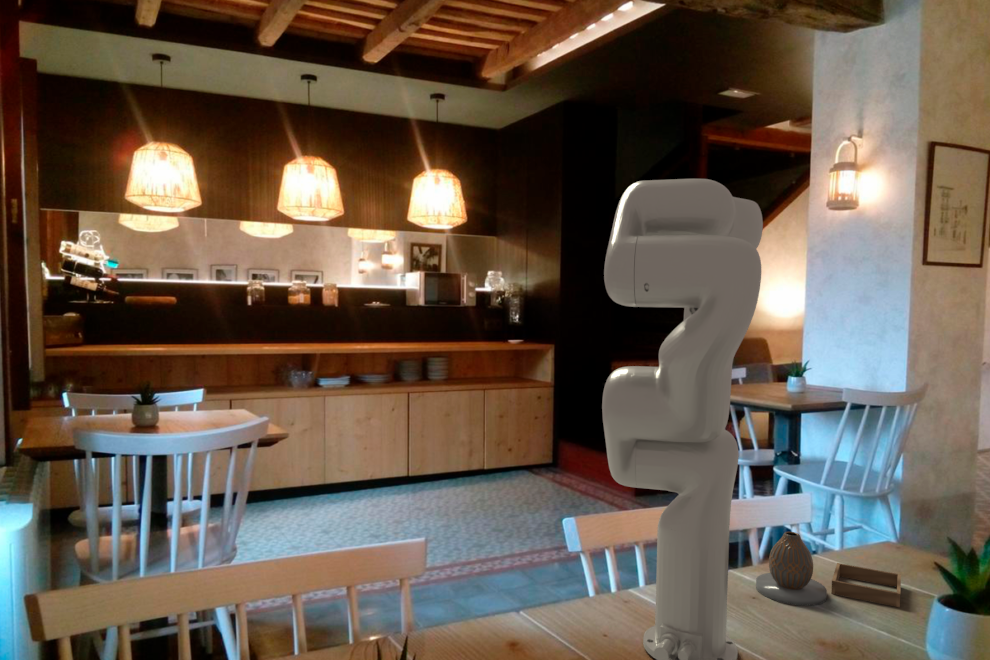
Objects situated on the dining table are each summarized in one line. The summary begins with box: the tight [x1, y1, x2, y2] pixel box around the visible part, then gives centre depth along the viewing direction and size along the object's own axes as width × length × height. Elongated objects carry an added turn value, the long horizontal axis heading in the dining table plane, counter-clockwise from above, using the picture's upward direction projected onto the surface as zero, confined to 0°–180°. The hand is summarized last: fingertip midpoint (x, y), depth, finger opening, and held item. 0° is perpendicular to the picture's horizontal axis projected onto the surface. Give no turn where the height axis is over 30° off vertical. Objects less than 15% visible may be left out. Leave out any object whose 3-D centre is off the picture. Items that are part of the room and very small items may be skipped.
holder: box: [830, 562, 902, 608], centre depth 120 cm, size 10×10×2 cm
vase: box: [768, 531, 814, 589], centre depth 118 cm, size 7×7×9 cm
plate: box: [755, 572, 828, 607], centre depth 119 cm, size 11×11×1 cm
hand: (700, 385), depth 122 cm, fingers open, 9 cm apart
